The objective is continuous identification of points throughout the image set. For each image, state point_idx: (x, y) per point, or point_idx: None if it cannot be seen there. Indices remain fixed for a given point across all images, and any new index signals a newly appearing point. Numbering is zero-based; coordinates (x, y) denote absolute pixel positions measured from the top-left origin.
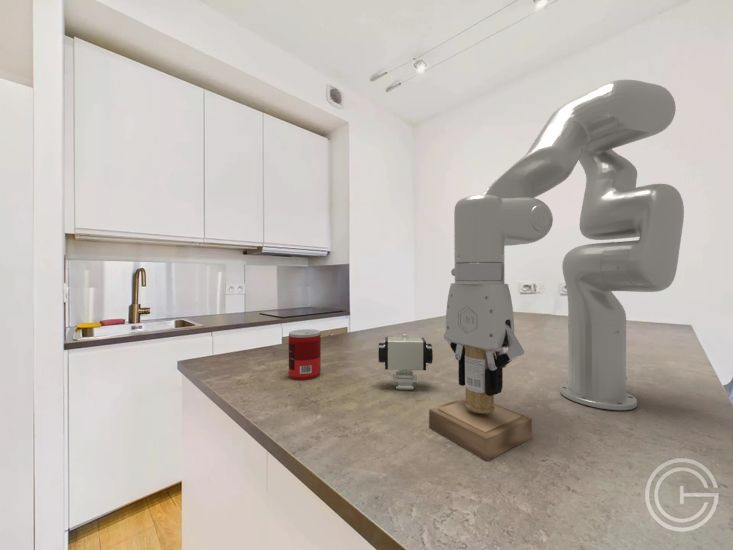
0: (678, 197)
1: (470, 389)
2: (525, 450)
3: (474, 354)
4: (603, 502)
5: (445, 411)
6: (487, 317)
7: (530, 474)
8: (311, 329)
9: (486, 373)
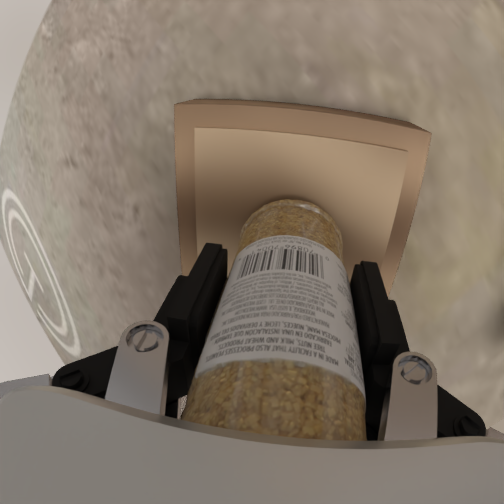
0: None
1: (294, 237)
2: (175, 217)
3: (243, 387)
4: (41, 173)
5: (375, 150)
6: None
7: (119, 140)
8: None
9: (188, 303)
